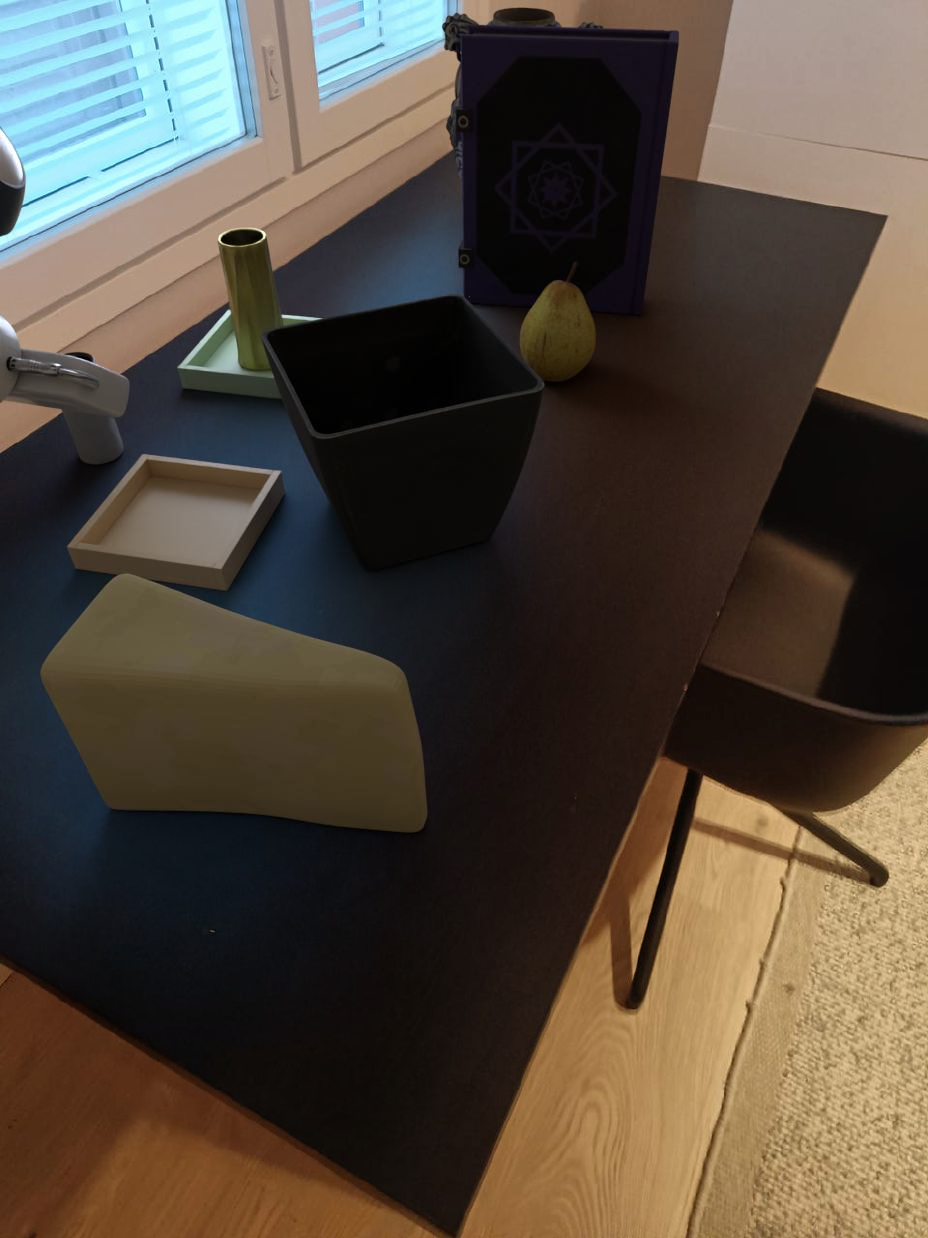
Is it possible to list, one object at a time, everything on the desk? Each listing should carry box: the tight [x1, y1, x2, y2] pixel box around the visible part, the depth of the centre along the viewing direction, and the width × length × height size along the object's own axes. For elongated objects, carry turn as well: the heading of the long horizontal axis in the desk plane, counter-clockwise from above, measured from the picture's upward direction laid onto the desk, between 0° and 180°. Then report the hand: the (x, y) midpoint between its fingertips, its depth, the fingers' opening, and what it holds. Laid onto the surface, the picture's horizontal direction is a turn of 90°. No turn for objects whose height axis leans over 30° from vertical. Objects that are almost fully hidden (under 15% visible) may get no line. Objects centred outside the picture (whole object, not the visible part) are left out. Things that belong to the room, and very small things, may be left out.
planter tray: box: [66, 453, 286, 592], centre depth 83 cm, size 15×15×3 cm
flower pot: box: [261, 293, 545, 571], centre depth 79 cm, size 19×19×17 cm
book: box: [456, 24, 680, 316], centre depth 107 cm, size 24×6×30 cm, turn 80°
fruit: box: [519, 262, 597, 383], centre depth 100 cm, size 9×9×12 cm
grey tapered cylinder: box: [60, 351, 125, 465], centre depth 90 cm, size 4×4×10 cm
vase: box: [217, 227, 284, 370], centre depth 101 cm, size 6×6×14 cm
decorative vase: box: [441, 7, 604, 184], centre depth 122 cm, size 21×19×28 cm
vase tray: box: [176, 309, 323, 400], centre depth 106 cm, size 15×15×3 cm
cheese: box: [40, 574, 428, 833], centre depth 58 cm, size 22×10×15 cm, turn 74°
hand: (67, 399), depth 87 cm, fingers open, 8 cm apart
